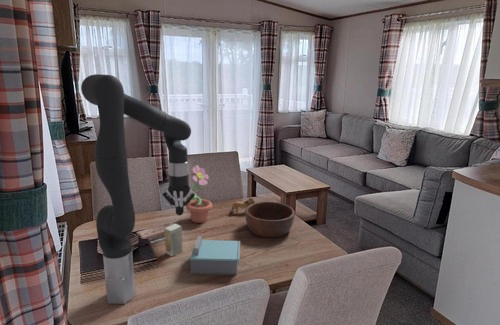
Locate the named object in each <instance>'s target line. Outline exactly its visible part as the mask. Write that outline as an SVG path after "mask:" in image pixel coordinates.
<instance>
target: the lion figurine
mask: <svg viewBox="0 0 500 325" xmlns="http://www.w3.org/2000/svg"><path fill="white" fill-rule="evenodd" d="M253 203H256V198H255V197H251V196H250V197H248V199H246V200H245V201H243V202H241V201H235V202H233V204H232V206H231V210H230V211H229V214H231V213H236V214H237V215H240V213H239V212H238V210H239V209H243V210H245V209H246V207H247V206H249V205H251V204H253Z"/></svg>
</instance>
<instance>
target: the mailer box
mask: <svg viewBox="0 0 500 325" xmlns="http://www.w3.org/2000/svg"><path fill="white" fill-rule="evenodd" d="M189 260H190V259H189ZM237 272H238V252H237V261H211V260H190V274H191V275H217V276H218V275H219V276H220V275H223V276H224V275H227V276H229V275H231V276H237V275H238V274H237Z"/></svg>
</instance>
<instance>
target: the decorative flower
mask: <svg viewBox="0 0 500 325" xmlns="http://www.w3.org/2000/svg"><path fill="white" fill-rule="evenodd" d="M191 170H192V172H191V173H190V177H191V178H192V180H193V182H194V184H193V186H192V189H191V191H193V192H195V193H196V191H197V189H198V190H200V191H202V190H203V187H201V186H207V185H208V180H209V179H210V177H209V175H208V173H206V172H207V171H206V170H205V168H203V167H200V166H199V164H196V165H195V166H193V167H192V169H191ZM188 197H189V195H187V196H186V200H187V199H188ZM186 200H185V201H186ZM212 208H213V203H212V202H211V201H210V200H209V199H203V198H201V197H199V196H198V195H197V193H196V194H195V196H194V197H193V198H192V200H191V201H190V202H189V203H188V204H187V205H186V206H185V209H186V210H187V211H188V212H190V213H189V214H190V220H191V222H193V223H195V224H202V223H205V222H207V220H208V215H209V211H211V210H212Z"/></svg>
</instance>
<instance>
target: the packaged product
mask: <svg viewBox="0 0 500 325" xmlns="http://www.w3.org/2000/svg"><path fill="white" fill-rule="evenodd" d="M168 226H171V225H170V224H169V223H165V224H163V225H158V226H154V227H151V228H147V229H143V230H139V231H137V232H135V235H136V234H137V235H138V236H140V238H141V239H147V238H148V239H149V240H150V242H151V244H150V245H152V244H153V245H154V244H156V243H160V242H163V241H164V242H165V230H164V228H166V227H168Z"/></svg>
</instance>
